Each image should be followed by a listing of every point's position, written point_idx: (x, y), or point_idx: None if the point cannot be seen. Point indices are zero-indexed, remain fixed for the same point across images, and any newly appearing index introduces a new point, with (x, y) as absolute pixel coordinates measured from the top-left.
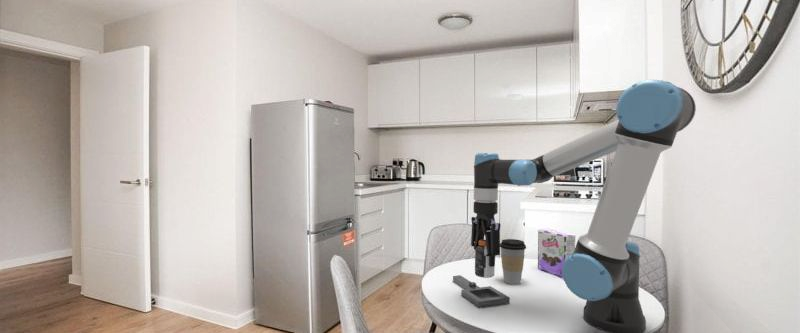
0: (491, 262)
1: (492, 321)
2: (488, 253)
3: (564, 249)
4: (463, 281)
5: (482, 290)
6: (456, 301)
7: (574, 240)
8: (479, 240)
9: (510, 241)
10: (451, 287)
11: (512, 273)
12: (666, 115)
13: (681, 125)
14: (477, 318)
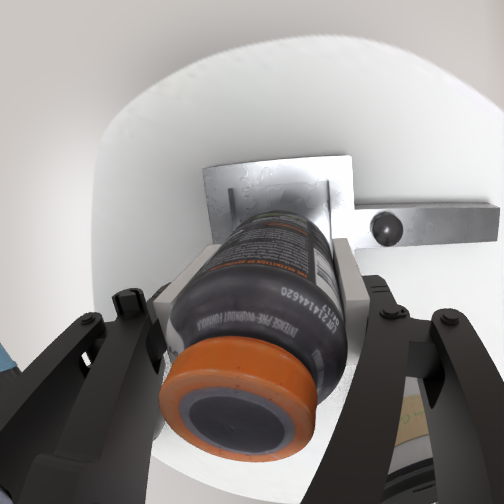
0: (154, 298)
1: (118, 171)
2: (128, 316)
3: None
4: (439, 216)
5: (331, 246)
6: (293, 110)
7: None
8: (256, 389)
9: (430, 492)
10: (440, 162)
11: None
12: None
13: None
14: (141, 134)
